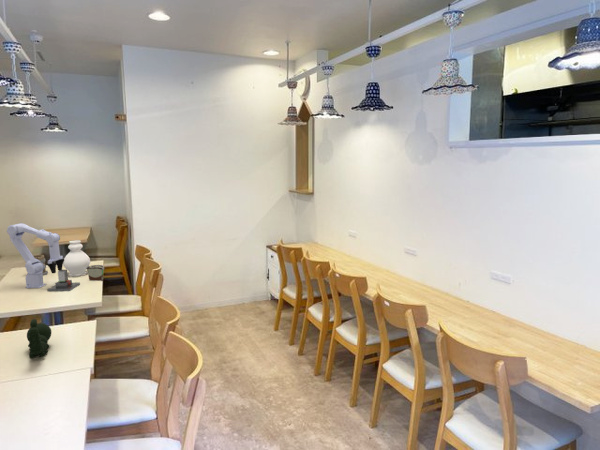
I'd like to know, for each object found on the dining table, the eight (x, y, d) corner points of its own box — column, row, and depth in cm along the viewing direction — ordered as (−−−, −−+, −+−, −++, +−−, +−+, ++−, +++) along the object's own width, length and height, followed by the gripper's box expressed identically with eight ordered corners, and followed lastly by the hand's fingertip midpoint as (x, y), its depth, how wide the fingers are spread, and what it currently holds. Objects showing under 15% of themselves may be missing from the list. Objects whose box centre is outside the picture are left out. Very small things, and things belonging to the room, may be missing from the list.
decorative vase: (67, 272, 312) (64, 239, 308) (93, 270, 317) (90, 238, 314) (61, 278, 295) (58, 244, 291) (88, 276, 301) (86, 242, 297)
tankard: (28, 273, 308) (26, 254, 306) (48, 271, 314) (46, 252, 311) (24, 280, 290) (21, 259, 288) (45, 278, 296) (42, 258, 293)
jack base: (47, 291, 266) (46, 283, 265) (58, 285, 280) (58, 277, 279) (69, 291, 267) (69, 283, 266) (80, 284, 280) (79, 277, 280)
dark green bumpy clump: (50, 364, 175) (53, 337, 196) (45, 323, 170) (49, 300, 192) (23, 369, 170) (30, 341, 192) (18, 327, 166) (25, 303, 187)
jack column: (58, 281, 270) (57, 270, 269) (61, 279, 274) (60, 269, 273) (65, 281, 271) (64, 270, 269) (68, 279, 275) (67, 269, 273)
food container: (108, 278, 295) (107, 264, 294) (103, 280, 289) (102, 267, 288) (92, 278, 296) (91, 264, 295) (87, 280, 290) (86, 266, 289)
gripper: (54, 254, 265) (57, 274, 267) (66, 249, 280) (68, 268, 282) (43, 254, 265) (46, 274, 267) (55, 249, 279) (58, 268, 281)
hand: (56, 271), depth 274 cm, fingers open, 7 cm apart
